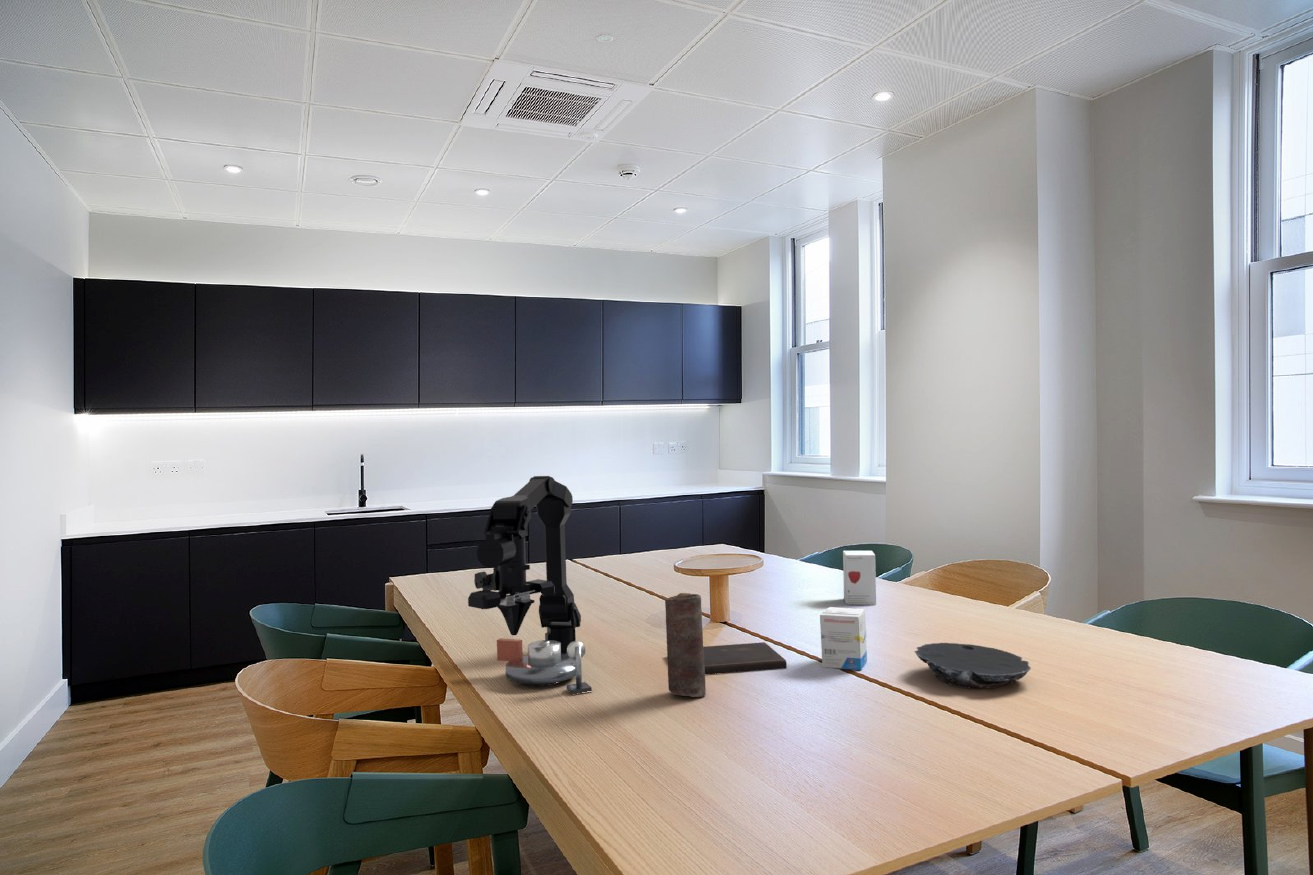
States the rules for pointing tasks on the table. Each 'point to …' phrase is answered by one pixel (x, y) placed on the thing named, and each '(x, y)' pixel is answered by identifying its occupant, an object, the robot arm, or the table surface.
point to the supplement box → (859, 577)
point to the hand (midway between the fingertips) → (513, 634)
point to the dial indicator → (577, 667)
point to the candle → (685, 645)
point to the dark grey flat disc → (972, 665)
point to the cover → (544, 653)
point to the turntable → (526, 674)
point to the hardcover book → (741, 658)
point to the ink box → (843, 638)
